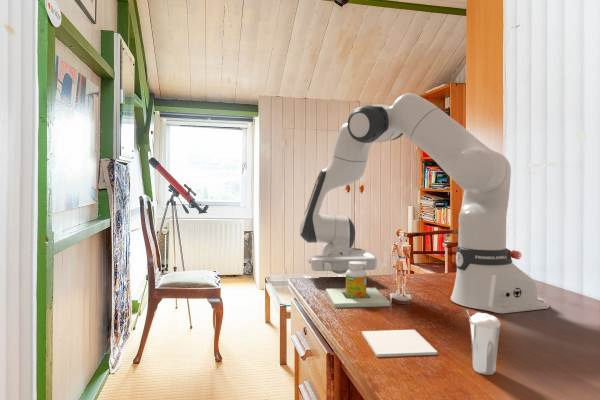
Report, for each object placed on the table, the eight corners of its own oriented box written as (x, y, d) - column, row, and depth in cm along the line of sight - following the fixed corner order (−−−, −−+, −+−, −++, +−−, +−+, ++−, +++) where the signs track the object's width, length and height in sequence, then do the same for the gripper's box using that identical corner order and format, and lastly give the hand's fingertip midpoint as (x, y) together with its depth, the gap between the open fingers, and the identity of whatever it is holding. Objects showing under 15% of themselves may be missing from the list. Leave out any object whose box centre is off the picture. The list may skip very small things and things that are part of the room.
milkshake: (458, 364, 67) (459, 305, 67) (489, 363, 68) (490, 305, 67) (472, 377, 63) (473, 314, 62) (505, 376, 63) (506, 313, 63)
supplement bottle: (343, 300, 105) (343, 263, 104) (348, 295, 110) (348, 259, 109) (363, 302, 103) (363, 265, 102) (368, 297, 108) (368, 261, 107)
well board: (374, 291, 114) (374, 287, 114) (390, 306, 100) (390, 302, 100) (325, 292, 112) (325, 288, 112) (334, 307, 98) (334, 303, 98)
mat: (414, 331, 82) (414, 329, 82) (437, 354, 71) (437, 351, 71) (361, 333, 81) (361, 331, 81) (376, 357, 70) (376, 354, 70)
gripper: (307, 250, 129) (312, 257, 116) (369, 249, 131) (382, 256, 117) (307, 269, 130) (312, 279, 116) (369, 268, 131) (382, 278, 118)
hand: (348, 268), depth 117 cm, fingers open, 8 cm apart
